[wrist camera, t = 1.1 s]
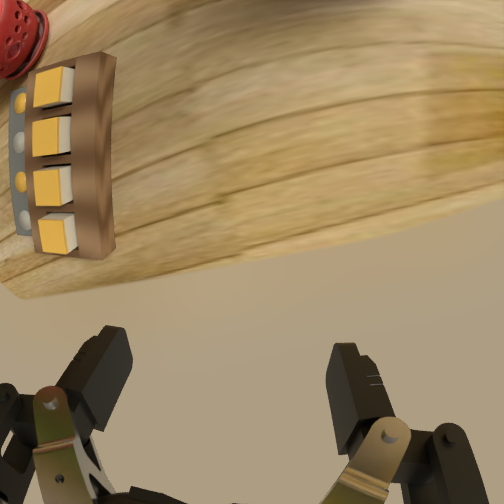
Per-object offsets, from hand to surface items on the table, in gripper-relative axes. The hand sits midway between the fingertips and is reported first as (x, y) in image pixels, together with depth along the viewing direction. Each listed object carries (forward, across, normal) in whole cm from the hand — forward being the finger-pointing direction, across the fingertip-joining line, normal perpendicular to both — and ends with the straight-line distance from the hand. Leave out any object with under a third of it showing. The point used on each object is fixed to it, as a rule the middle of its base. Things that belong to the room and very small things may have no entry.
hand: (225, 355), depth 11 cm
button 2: (+23, +23, -9) cm, 34 cm away
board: (+25, +24, -6) cm, 35 cm away
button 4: (+23, +24, +3) cm, 33 cm away
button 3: (+23, +24, -3) cm, 33 cm away
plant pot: (+26, +35, -25) cm, 50 cm away
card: (+25, +34, -6) cm, 43 cm away
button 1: (+23, +23, -15) cm, 36 cm away
